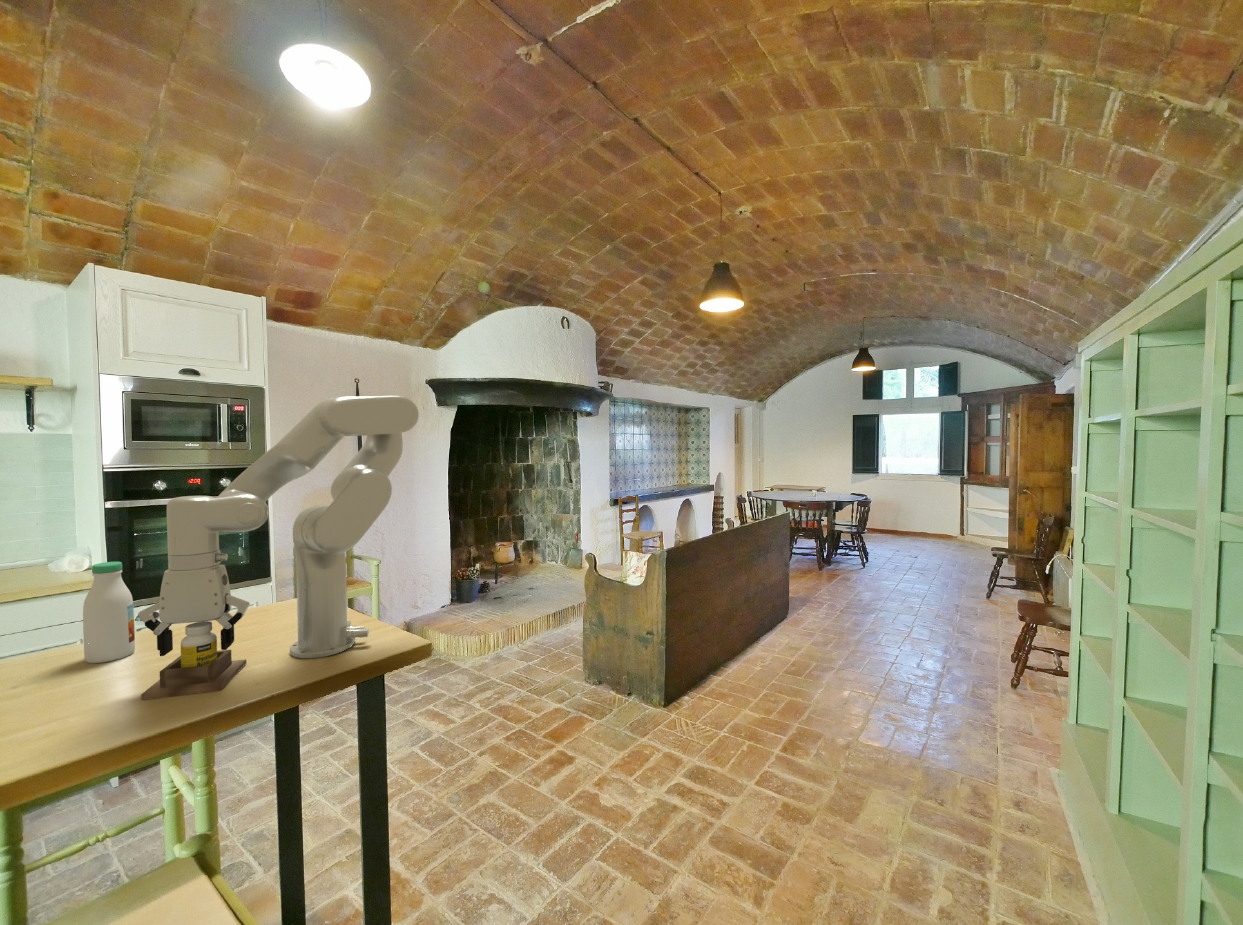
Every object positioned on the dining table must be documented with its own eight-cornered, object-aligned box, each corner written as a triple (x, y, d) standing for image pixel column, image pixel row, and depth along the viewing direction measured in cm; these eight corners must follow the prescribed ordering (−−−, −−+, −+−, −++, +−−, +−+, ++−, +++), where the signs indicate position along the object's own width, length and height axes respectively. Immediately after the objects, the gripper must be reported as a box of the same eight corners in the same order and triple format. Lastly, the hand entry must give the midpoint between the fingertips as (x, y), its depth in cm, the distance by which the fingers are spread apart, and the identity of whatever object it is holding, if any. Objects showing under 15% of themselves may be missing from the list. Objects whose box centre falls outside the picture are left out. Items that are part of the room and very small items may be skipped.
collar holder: (246, 664, 108) (245, 645, 108) (221, 690, 96) (221, 669, 96) (175, 671, 104) (175, 651, 104) (141, 699, 93) (140, 677, 93)
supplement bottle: (197, 682, 97) (195, 630, 97) (173, 680, 98) (172, 628, 98) (224, 670, 103) (223, 620, 102) (202, 667, 104) (200, 618, 103)
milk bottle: (121, 661, 109) (118, 566, 108) (74, 666, 107) (71, 568, 106) (143, 648, 116) (140, 558, 116) (100, 651, 114) (96, 560, 113)
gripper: (254, 554, 106) (256, 638, 106) (149, 560, 101) (152, 648, 101) (240, 562, 99) (242, 652, 99) (126, 569, 93) (129, 664, 94)
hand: (196, 650), depth 100 cm, fingers open, 9 cm apart
